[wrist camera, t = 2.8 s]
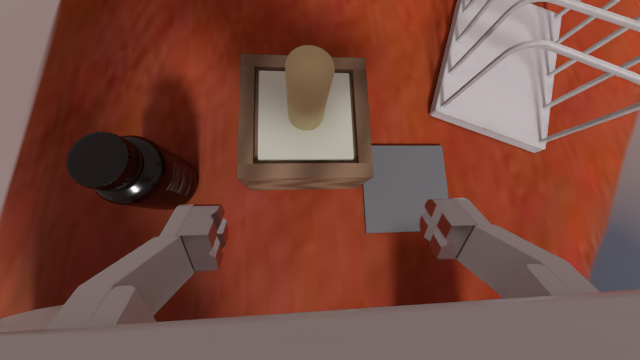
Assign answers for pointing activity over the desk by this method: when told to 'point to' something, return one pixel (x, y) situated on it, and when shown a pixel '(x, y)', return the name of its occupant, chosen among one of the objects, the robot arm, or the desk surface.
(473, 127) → the file sorter
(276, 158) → the lid
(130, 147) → the supplement bottle
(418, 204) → the mat
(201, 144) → the desk surface
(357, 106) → the box
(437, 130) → the desk surface
